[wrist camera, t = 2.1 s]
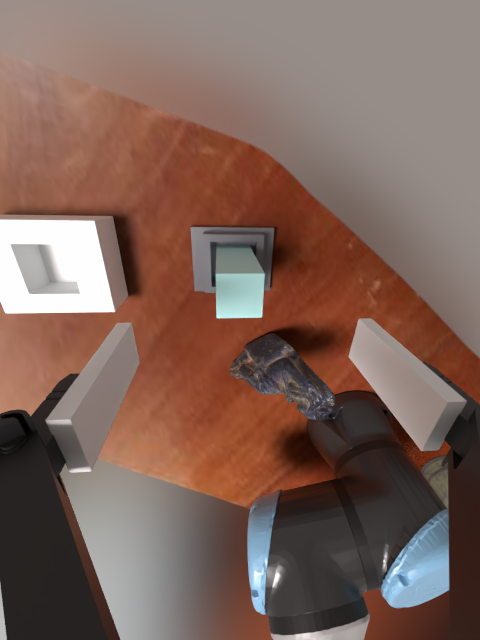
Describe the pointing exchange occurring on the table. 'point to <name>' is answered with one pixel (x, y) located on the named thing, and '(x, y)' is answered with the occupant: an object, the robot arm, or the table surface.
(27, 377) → the table surface
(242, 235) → the grey socket
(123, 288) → the port
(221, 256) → the plug
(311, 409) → the carved stone figurine
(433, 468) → the olive green bottle
